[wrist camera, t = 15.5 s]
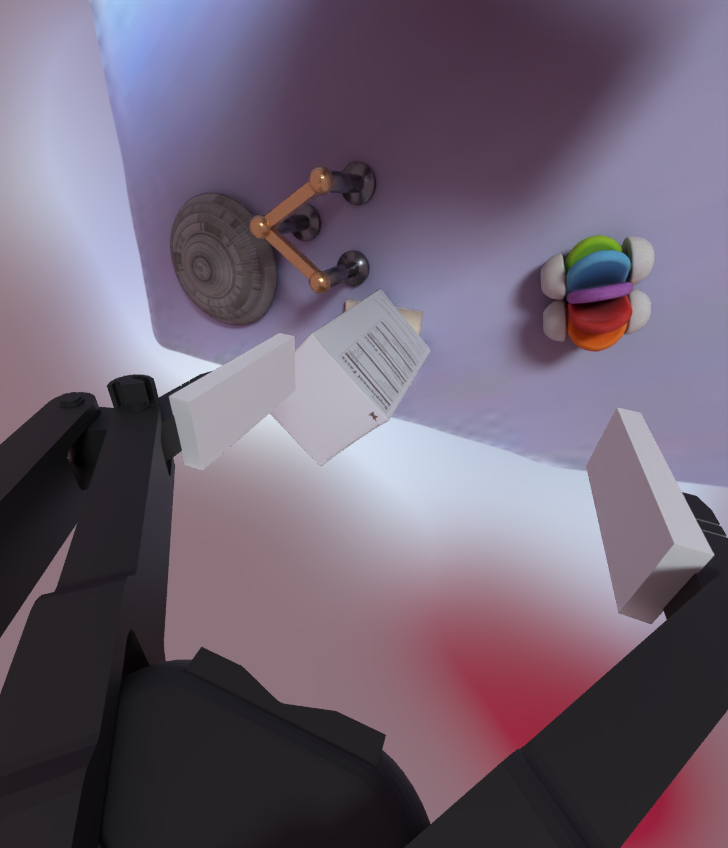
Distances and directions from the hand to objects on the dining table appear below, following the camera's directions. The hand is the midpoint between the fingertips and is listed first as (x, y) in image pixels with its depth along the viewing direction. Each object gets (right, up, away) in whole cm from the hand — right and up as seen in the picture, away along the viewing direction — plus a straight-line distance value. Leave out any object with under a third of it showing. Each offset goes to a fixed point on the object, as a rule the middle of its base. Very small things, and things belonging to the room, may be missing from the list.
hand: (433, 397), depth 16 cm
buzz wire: (-7, +20, +25) cm, 33 cm away
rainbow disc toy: (+19, +12, +20) cm, 30 cm away
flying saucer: (-20, +19, +32) cm, 42 cm away
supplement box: (-1, +8, +30) cm, 31 cm away
